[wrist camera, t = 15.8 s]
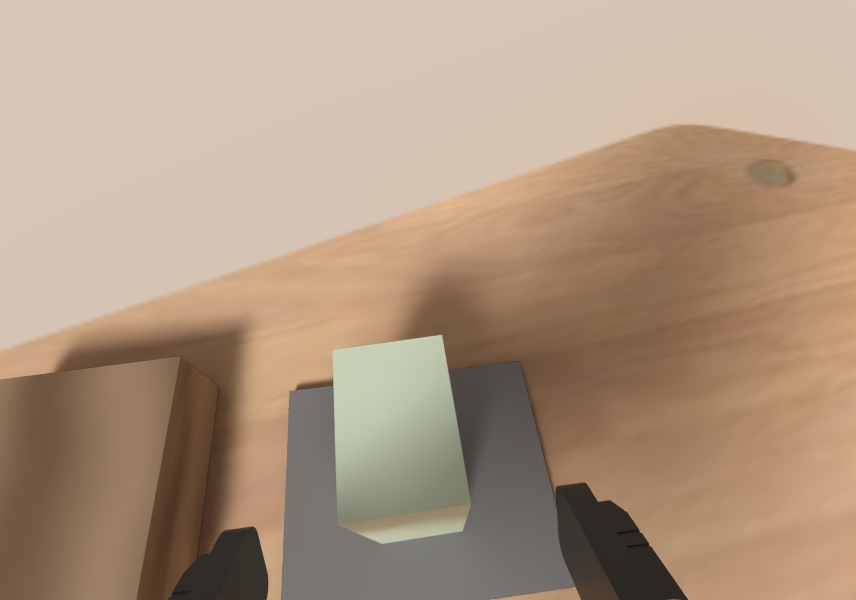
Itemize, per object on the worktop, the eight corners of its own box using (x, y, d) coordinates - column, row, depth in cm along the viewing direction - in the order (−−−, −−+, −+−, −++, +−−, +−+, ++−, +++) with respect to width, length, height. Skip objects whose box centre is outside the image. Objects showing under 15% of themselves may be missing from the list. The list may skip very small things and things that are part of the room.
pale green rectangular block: (444, 417, 22) (441, 334, 14) (462, 531, 19) (471, 504, 12) (373, 428, 22) (332, 350, 14) (382, 544, 19) (337, 524, 12)
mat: (518, 365, 24) (519, 361, 23) (572, 586, 19) (576, 587, 18) (293, 395, 23) (289, 391, 23) (284, 628, 18) (279, 630, 18)
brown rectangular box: (219, 387, 24) (180, 356, 20) (189, 613, 19) (132, 622, 15) (28, 412, 24) (-42, 384, 20) (-55, 648, 18) (-170, 666, 15)
